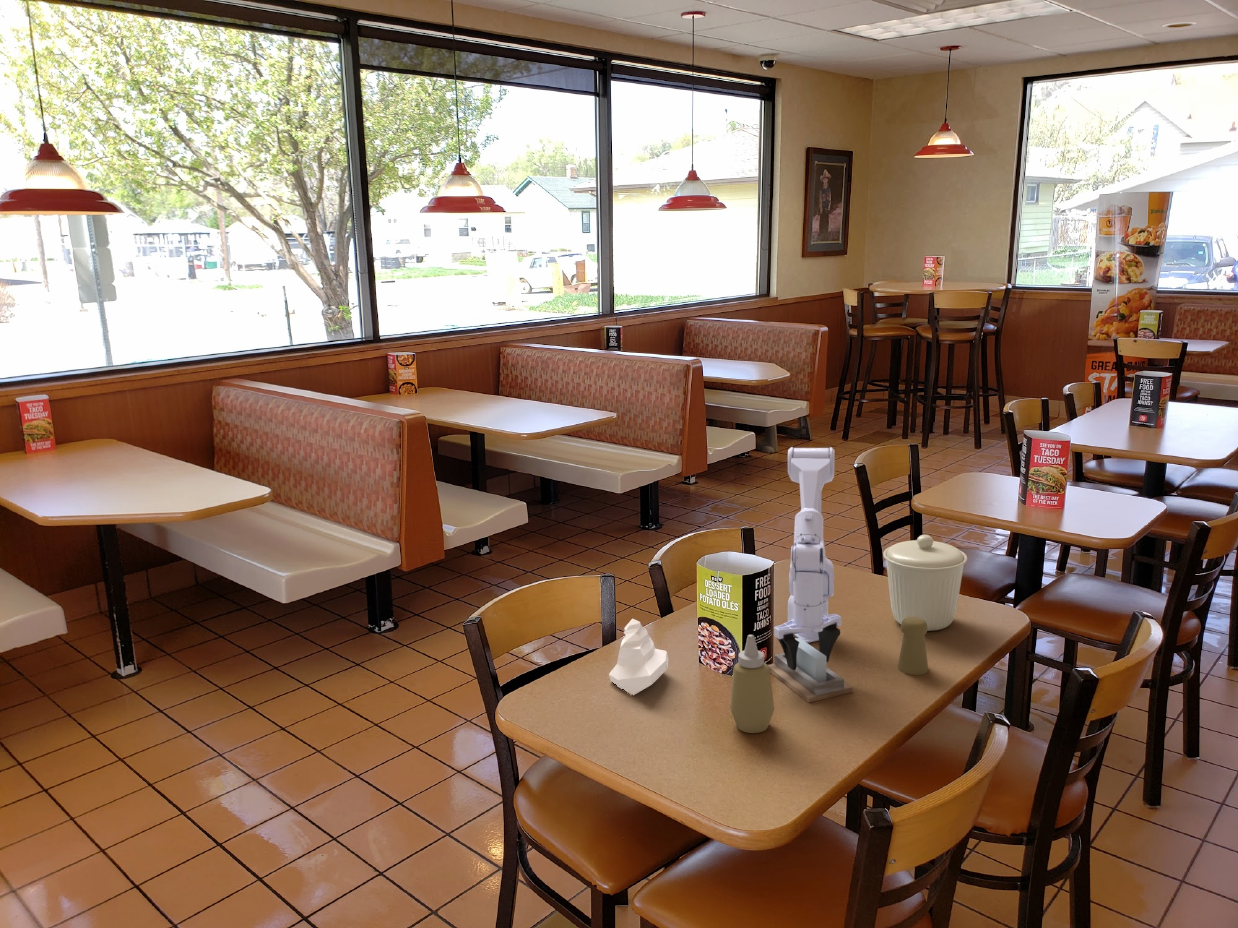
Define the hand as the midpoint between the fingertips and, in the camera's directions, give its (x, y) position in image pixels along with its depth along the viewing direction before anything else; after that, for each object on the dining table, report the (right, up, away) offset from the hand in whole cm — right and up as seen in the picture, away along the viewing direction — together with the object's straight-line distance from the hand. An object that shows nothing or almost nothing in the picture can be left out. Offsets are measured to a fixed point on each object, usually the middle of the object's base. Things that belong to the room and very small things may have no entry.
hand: (808, 663), depth 185 cm
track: (0, -4, +1) cm, 4 cm away
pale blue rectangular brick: (0, -2, +1) cm, 3 cm away
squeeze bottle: (-14, -8, -16) cm, 22 cm away
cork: (+23, -2, +4) cm, 23 cm away
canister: (+32, +4, +26) cm, 41 cm away
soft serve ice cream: (-34, -5, +4) cm, 35 cm away
